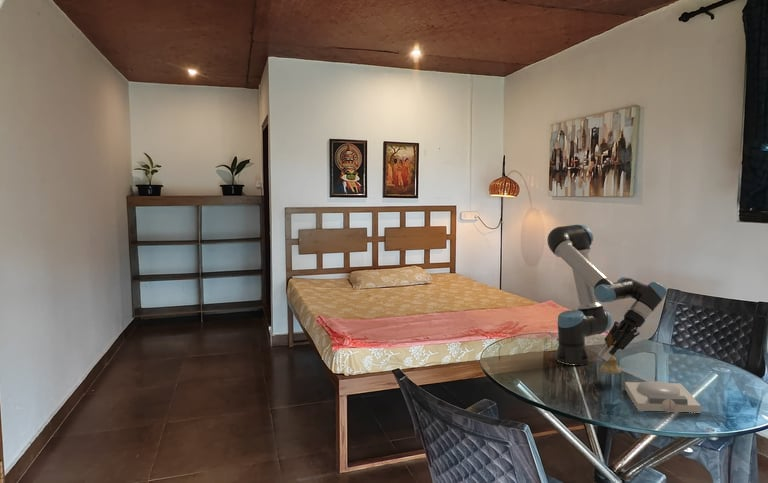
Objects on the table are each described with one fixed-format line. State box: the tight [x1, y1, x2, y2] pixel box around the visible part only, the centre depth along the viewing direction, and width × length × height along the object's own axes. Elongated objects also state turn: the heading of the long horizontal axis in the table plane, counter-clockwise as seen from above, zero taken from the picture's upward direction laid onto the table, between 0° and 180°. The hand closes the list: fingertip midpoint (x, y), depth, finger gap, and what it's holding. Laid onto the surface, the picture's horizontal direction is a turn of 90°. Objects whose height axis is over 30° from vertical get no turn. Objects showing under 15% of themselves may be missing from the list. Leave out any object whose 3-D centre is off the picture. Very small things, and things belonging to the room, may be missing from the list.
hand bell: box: [599, 332, 622, 375], centre depth 199 cm, size 8×8×16 cm
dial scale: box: [624, 380, 702, 414], centre depth 180 cm, size 20×20×5 cm
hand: (602, 358), depth 198 cm, fingers closed on hand bell, 2 cm apart
